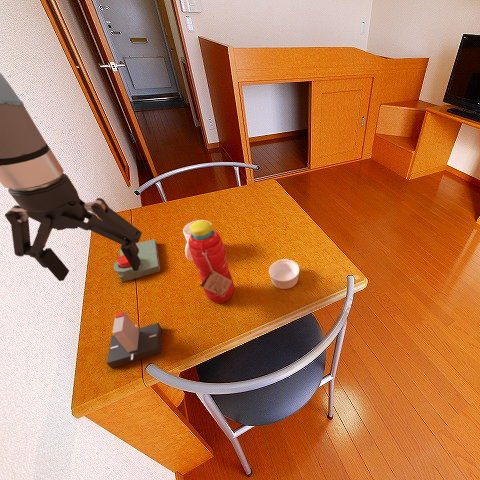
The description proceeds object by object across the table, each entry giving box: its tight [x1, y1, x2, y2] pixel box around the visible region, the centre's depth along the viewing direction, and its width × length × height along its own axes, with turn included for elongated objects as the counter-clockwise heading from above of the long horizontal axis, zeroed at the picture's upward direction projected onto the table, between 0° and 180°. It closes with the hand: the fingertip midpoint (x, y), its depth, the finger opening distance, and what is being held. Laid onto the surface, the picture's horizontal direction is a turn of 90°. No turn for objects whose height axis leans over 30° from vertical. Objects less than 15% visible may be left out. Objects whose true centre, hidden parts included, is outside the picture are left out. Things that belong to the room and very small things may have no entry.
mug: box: [182, 219, 213, 262], centre depth 86 cm, size 12×8×10 cm
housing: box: [113, 238, 161, 283], centre depth 85 cm, size 14×11×4 cm
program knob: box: [111, 311, 139, 352], centre depth 61 cm, size 5×2×8 cm, turn 22°
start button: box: [116, 255, 131, 268], centre depth 80 cm, size 4×4×2 cm
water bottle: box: [188, 220, 235, 304], centre depth 68 cm, size 12×8×25 cm, turn 18°
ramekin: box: [268, 258, 300, 290], centre depth 81 cm, size 9×9×4 cm
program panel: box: [106, 322, 163, 369], centre depth 64 cm, size 10×9×3 cm
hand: (102, 271), depth 58 cm, fingers open, 13 cm apart
